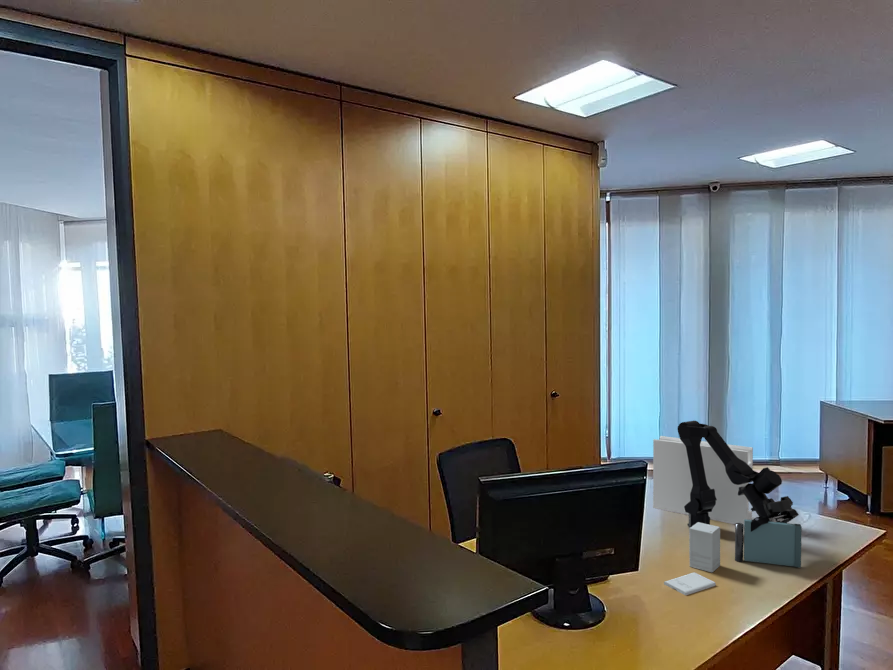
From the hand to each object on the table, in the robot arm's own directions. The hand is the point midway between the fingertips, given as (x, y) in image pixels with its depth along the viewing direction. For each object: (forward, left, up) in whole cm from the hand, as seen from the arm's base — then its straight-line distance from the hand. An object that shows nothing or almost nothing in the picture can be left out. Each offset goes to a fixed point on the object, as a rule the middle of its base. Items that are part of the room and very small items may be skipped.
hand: (789, 545), depth 201 cm
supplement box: (-26, -4, -7) cm, 28 cm away
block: (-16, +45, -7) cm, 48 cm away
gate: (-5, 0, -6) cm, 8 cm away
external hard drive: (-34, -18, -7) cm, 39 cm away
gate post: (-15, +2, -6) cm, 16 cm away
